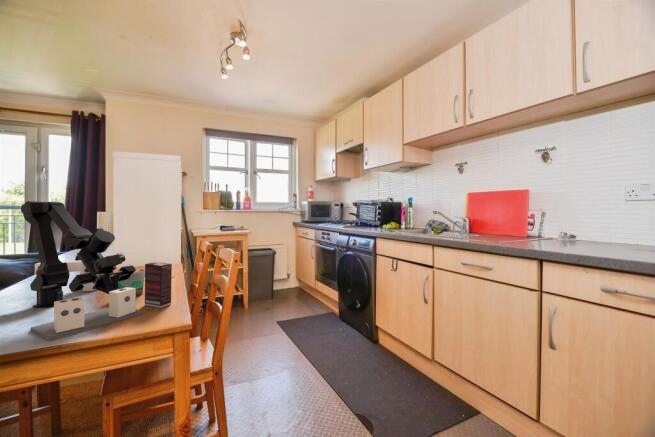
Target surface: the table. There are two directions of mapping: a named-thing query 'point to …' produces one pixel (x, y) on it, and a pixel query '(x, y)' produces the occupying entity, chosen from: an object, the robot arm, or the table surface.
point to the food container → (134, 282)
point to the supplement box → (158, 284)
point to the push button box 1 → (122, 302)
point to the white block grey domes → (68, 314)
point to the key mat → (90, 322)
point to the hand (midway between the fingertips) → (117, 296)
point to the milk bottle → (88, 286)
